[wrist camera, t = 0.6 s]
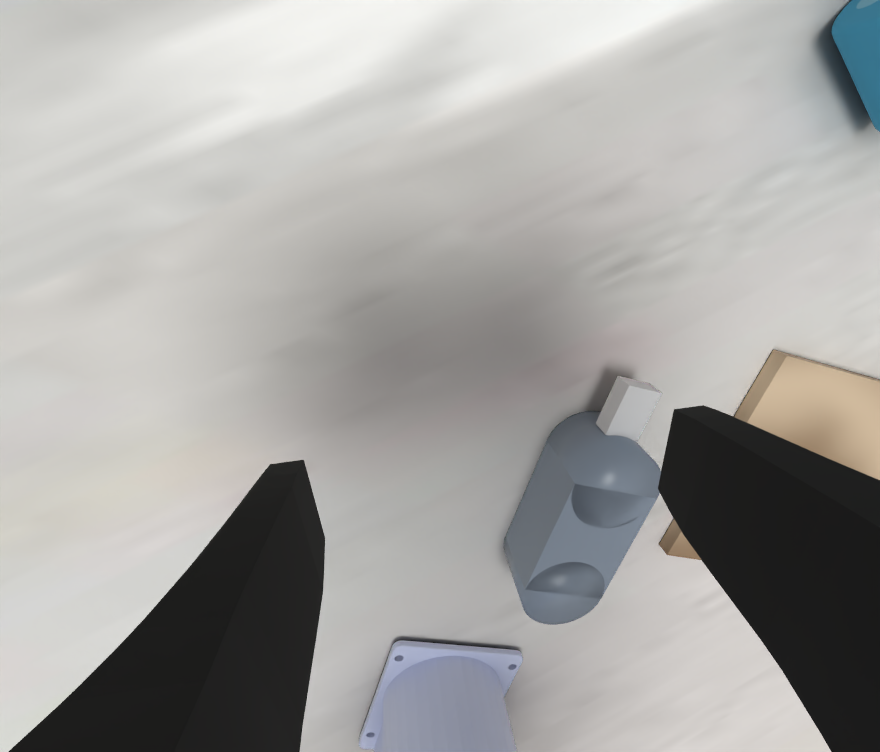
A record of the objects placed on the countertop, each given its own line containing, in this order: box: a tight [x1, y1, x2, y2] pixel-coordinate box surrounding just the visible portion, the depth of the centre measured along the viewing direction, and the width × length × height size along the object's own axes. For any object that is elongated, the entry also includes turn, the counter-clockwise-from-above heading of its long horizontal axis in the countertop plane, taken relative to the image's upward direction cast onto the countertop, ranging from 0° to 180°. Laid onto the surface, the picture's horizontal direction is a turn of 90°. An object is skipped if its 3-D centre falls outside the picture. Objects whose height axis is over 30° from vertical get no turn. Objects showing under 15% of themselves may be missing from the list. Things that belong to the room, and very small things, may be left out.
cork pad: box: [659, 350, 880, 560], centre depth 25 cm, size 12×12×1 cm
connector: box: [504, 376, 662, 624], centre depth 22 cm, size 12×4×4 cm, turn 164°
